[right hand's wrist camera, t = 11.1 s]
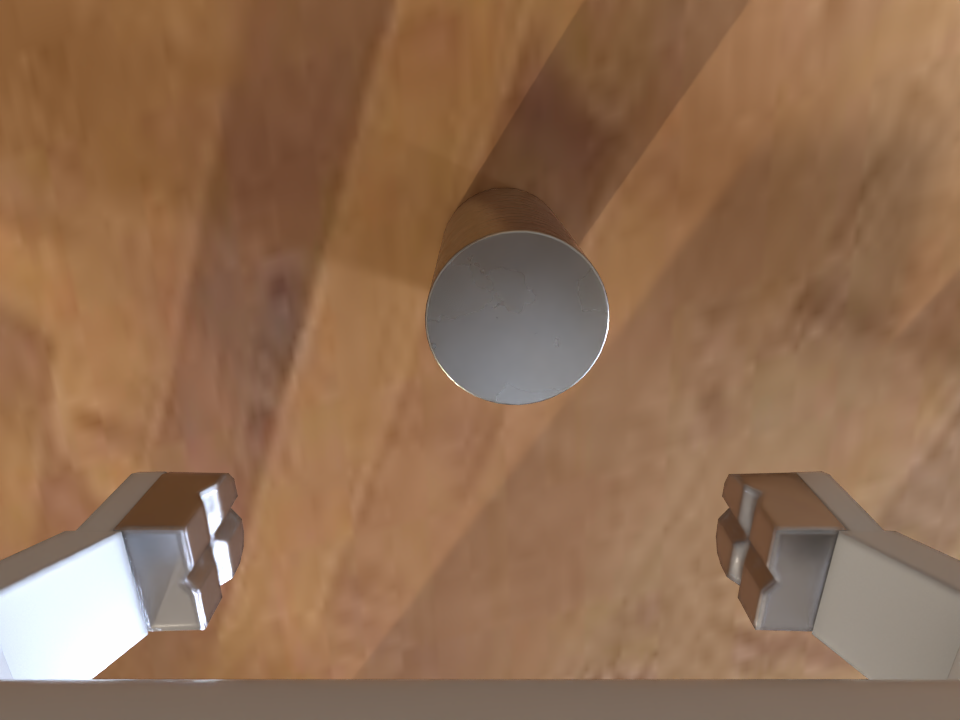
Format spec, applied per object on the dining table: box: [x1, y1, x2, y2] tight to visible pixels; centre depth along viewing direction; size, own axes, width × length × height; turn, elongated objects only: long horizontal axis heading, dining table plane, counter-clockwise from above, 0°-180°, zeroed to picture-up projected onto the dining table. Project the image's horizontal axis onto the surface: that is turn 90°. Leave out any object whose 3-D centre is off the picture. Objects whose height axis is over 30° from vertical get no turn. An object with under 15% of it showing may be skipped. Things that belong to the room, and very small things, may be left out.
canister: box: [425, 188, 609, 405], centre depth 22 cm, size 5×5×10 cm
